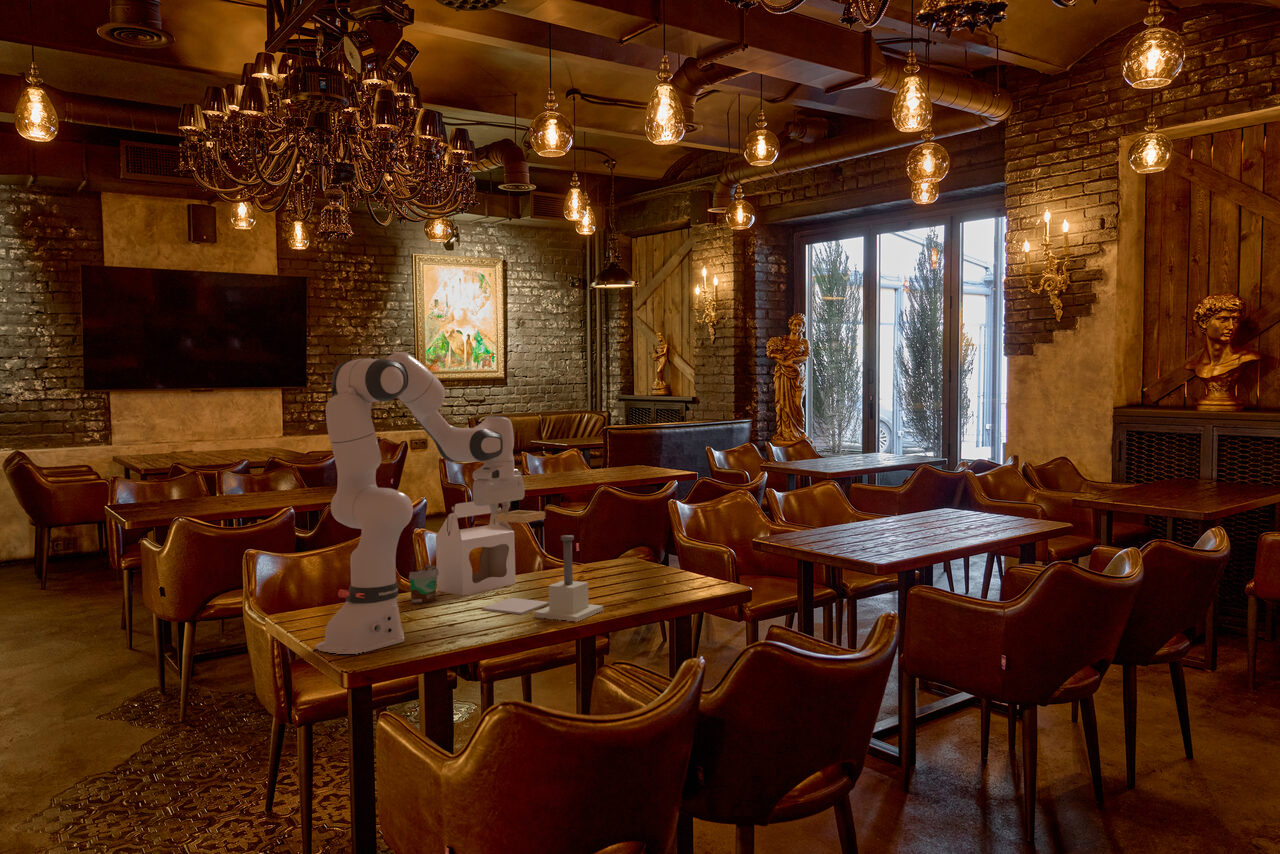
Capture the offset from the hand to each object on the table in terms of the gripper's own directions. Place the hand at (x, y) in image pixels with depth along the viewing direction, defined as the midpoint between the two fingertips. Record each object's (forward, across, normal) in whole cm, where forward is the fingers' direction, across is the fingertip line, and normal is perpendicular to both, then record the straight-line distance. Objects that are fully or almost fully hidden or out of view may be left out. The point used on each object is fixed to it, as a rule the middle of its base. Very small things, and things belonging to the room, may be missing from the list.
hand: (500, 518), depth 265 cm
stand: (+26, 0, +24) cm, 35 cm away
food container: (+26, +5, -24) cm, 36 cm away
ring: (0, 0, +5) cm, 5 cm away
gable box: (+26, -17, -23) cm, 39 cm away
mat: (+26, 0, +5) cm, 26 cm away
